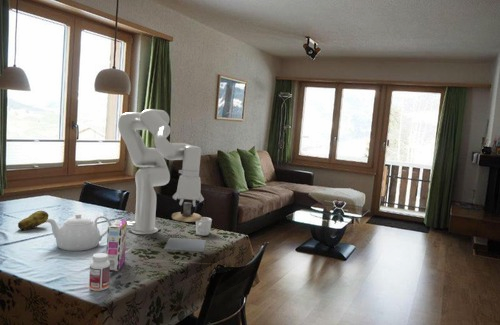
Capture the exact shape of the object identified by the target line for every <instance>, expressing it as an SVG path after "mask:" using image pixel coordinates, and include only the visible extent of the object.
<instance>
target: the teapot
mask: <svg viewBox="0 0 500 325" xmlns="http://www.w3.org/2000/svg"><path fill="white" fill-rule="evenodd" d="M99 219H105V220H106V222H107V224H108V227H109V226H110V225H111V224H112V223H111V220H110V218H109V217H108V216H105V215H102V214H101V215H98V216H97V217H96V218H94V219H92V218H89V217H86V216H83V215H82V213H76V214H75V215H74V216H71V217H68V218H67V219H65V220H64V222H63V223H61V225H58V223H57V221H56V220H55V219H54V218H52V217H51V218H48V220H47V221H46V222H45V223H49V224H50V225H51V231H52V234H53V236H54V238H55V242H56V246H57V247H58V248H59V249H61V250H64V251H69V252H80V251H86V250H91V249H94V248H96V247H97V246H98V245H99V243H100V242H102V239H103V237H104V236H105V235H107V234H108V228H107V229H106V230H105V231H104V232H103V233H101V234H100V229H99V228H98V223H97V222H98V220H99Z"/></svg>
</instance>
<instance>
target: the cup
mask: <svg viewBox="0 0 500 325" xmlns="http://www.w3.org/2000/svg"><path fill="white" fill-rule="evenodd" d="M212 221H213V219H212V218H211V217H207V216H201V220H199V221H196V222H195V233H196V235H199V236H208V235H210V232H211V227H212Z"/></svg>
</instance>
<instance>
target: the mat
mask: <svg viewBox="0 0 500 325" xmlns="http://www.w3.org/2000/svg"><path fill="white" fill-rule="evenodd" d="M206 242H207V241H206V239H197V238H196V239H194V238H181V237H179V238H178V237H169V238H168V240H167V242H166V244H165V246H164V248H163V250H171V251H172V250H173V251H187V252H202V253H203V252H204V251H205V246H206Z"/></svg>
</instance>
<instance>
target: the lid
mask: <svg viewBox="0 0 500 325" xmlns="http://www.w3.org/2000/svg"><path fill="white" fill-rule="evenodd" d="M192 205H193V202H188V201H187V202H184V201H183V213H182V214H181V212H179V211H177V212H173V213H172V214H171V218H172V220H175V221H179V222H184V223H185V222H186V223H187V222H188V223H191V222H192V223H194V222H195V223H196V221H199V220H201V217H202V215H200V214H199V213H193V215H191V208H192Z"/></svg>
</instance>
